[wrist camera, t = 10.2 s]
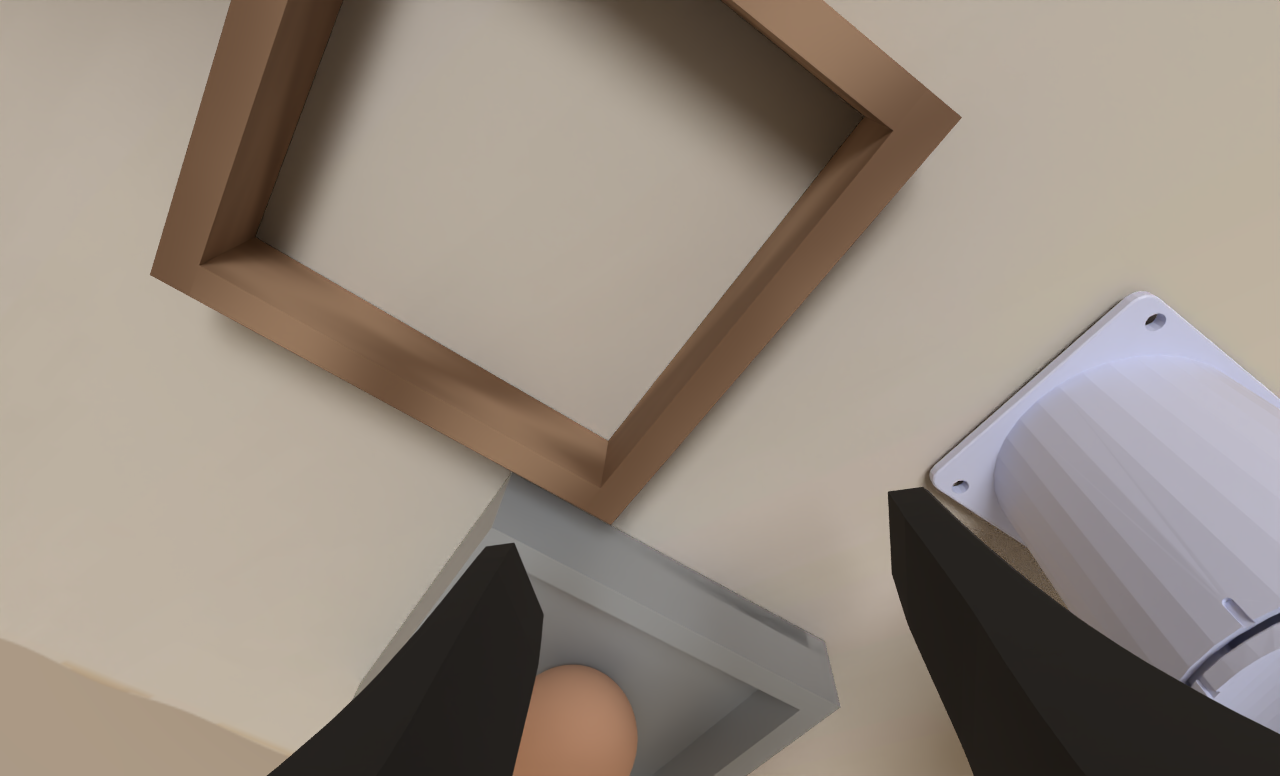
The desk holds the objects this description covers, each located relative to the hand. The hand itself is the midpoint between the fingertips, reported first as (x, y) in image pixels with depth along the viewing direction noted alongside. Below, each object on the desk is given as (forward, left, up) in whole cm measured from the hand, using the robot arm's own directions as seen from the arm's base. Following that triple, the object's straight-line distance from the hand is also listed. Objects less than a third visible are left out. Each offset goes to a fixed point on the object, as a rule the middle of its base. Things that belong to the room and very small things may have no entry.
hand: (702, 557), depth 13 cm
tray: (-4, +14, -8) cm, 17 cm away
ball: (-4, +14, -5) cm, 15 cm away
